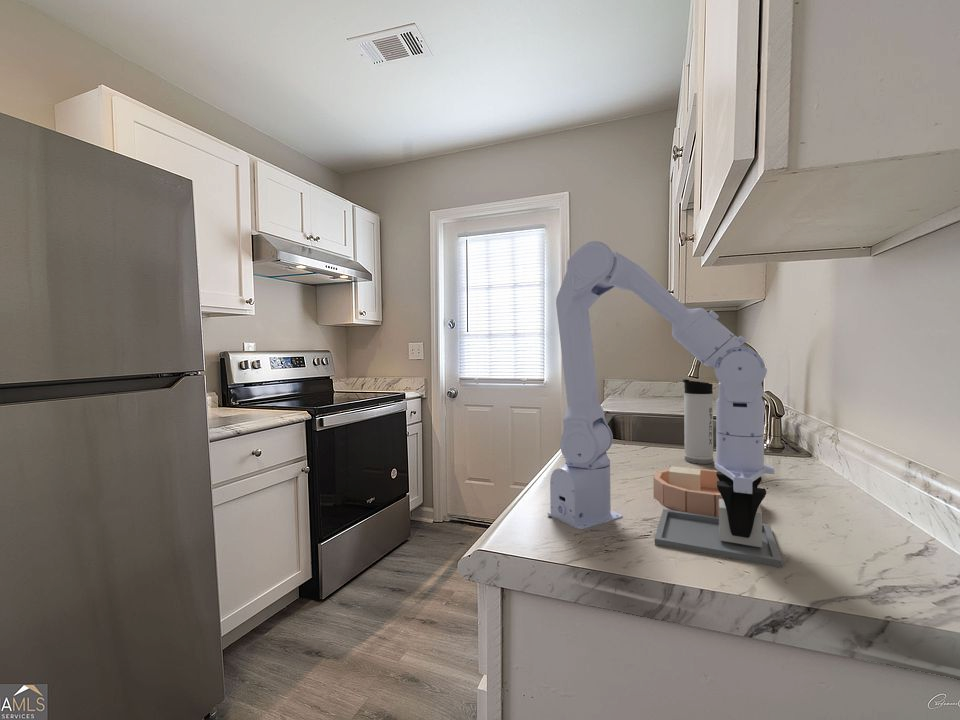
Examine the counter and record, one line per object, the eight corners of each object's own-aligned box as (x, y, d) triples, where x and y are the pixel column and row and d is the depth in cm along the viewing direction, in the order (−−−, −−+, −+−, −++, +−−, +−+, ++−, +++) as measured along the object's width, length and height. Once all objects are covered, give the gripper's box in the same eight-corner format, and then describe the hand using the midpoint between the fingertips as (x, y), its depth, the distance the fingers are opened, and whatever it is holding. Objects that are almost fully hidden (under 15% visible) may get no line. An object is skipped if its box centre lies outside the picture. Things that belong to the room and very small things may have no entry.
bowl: (720, 527, 67) (720, 501, 66) (636, 497, 80) (635, 476, 80) (775, 507, 75) (775, 484, 74) (689, 483, 88) (689, 464, 88)
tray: (781, 570, 53) (781, 561, 53) (654, 547, 60) (654, 538, 60) (769, 532, 64) (769, 524, 64) (663, 516, 71) (663, 508, 71)
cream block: (669, 496, 78) (669, 471, 78) (670, 490, 82) (670, 466, 82) (700, 501, 76) (700, 474, 76) (700, 494, 79) (700, 469, 79)
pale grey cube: (719, 540, 60) (719, 507, 60) (718, 529, 64) (718, 498, 64) (762, 547, 58) (762, 513, 58) (759, 536, 61) (759, 503, 61)
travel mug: (679, 457, 110) (679, 378, 109) (707, 458, 109) (707, 378, 108) (688, 464, 103) (687, 380, 103) (717, 464, 102) (717, 380, 102)
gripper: (781, 445, 52) (781, 557, 52) (767, 426, 65) (767, 516, 65) (715, 440, 56) (715, 545, 56) (714, 423, 68) (714, 509, 69)
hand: (739, 529), depth 61 cm, fingers closed on pale grey cube, 4 cm apart
